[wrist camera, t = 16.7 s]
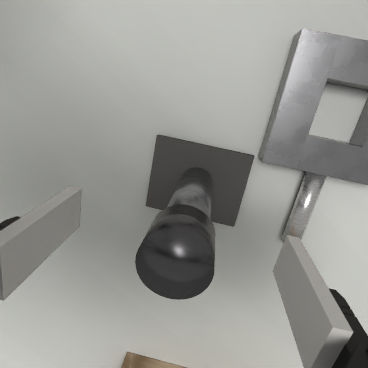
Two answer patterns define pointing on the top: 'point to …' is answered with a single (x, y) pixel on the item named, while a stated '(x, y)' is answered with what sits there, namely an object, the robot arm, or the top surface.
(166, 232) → the flashlight
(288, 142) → the grey metal flat frame
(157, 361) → the wooden parts corral
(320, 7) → the top surface
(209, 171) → the rubber mat
